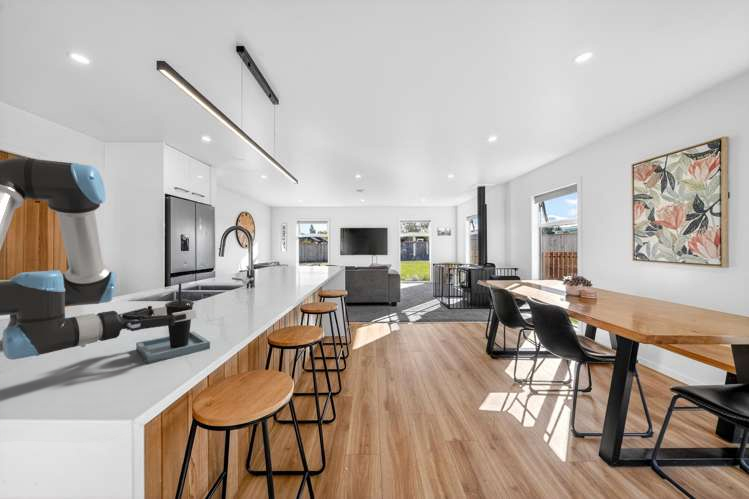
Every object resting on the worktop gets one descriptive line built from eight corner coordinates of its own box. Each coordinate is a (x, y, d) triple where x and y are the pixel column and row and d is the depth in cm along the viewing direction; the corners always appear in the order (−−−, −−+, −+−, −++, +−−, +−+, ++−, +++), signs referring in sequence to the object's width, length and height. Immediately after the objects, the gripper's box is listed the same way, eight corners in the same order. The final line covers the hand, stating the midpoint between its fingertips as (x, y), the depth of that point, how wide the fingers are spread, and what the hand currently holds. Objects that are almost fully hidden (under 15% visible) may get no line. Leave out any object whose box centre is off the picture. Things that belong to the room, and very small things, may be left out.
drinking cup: (180, 351, 90) (181, 286, 88) (158, 348, 91) (158, 284, 89) (198, 341, 97) (199, 282, 96) (178, 339, 98) (178, 280, 97)
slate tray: (136, 349, 92) (136, 342, 92) (193, 337, 104) (193, 331, 104) (148, 364, 82) (147, 356, 82) (210, 348, 94) (209, 341, 94)
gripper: (82, 333, 84) (167, 316, 102) (115, 350, 71) (205, 328, 90) (82, 307, 84) (167, 295, 102) (114, 320, 71) (205, 304, 89)
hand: (185, 310), depth 96 cm, fingers open, 12 cm apart
